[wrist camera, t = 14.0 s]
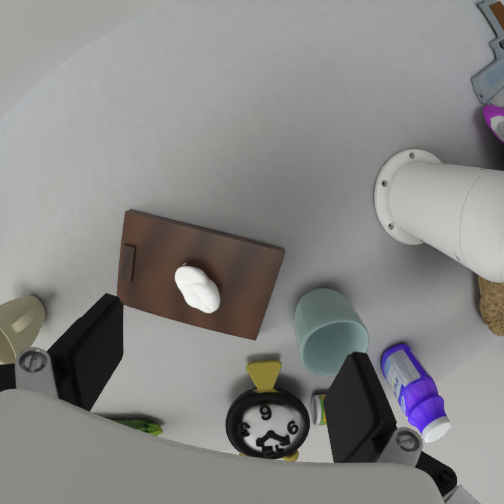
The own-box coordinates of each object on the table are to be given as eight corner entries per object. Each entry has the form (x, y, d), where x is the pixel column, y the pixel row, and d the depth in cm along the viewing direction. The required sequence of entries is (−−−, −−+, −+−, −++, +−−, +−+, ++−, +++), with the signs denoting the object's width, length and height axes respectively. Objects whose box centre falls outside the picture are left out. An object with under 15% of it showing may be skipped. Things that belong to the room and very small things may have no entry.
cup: (286, 285, 37) (296, 326, 27) (344, 275, 36) (371, 312, 27) (293, 334, 39) (302, 382, 30) (346, 324, 39) (368, 368, 29)
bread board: (283, 248, 35) (285, 253, 33) (255, 334, 39) (255, 343, 37) (129, 209, 34) (123, 212, 32) (120, 297, 38) (114, 304, 36)
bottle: (377, 348, 40) (420, 430, 24) (408, 335, 40) (460, 409, 23) (381, 378, 42) (417, 454, 26) (409, 365, 42) (452, 436, 25)
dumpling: (232, 292, 36) (227, 315, 33) (199, 303, 38) (191, 325, 34) (203, 249, 33) (194, 269, 30) (169, 263, 35) (158, 283, 31)
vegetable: (74, 445, 40) (149, 449, 38) (76, 414, 45) (148, 412, 43) (98, 452, 45) (171, 454, 43) (98, 424, 50) (169, 421, 48)
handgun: (489, -2, 19) (530, 63, 23) (427, 26, 25) (480, 109, 29) (499, -7, 16) (541, 62, 20) (438, 19, 22) (493, 108, 26)
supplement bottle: (316, 428, 37) (374, 419, 37) (316, 396, 40) (374, 389, 40) (310, 423, 42) (363, 416, 42) (310, 394, 45) (362, 388, 44)
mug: (58, 340, 41) (23, 379, 30) (20, 315, 40) (-17, 347, 29) (60, 292, 38) (17, 329, 27) (20, 266, 37) (-25, 295, 25)
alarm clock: (307, 361, 45) (345, 437, 34) (248, 402, 49) (273, 472, 37) (262, 346, 38) (302, 444, 27) (198, 394, 42) (221, 478, 31)
